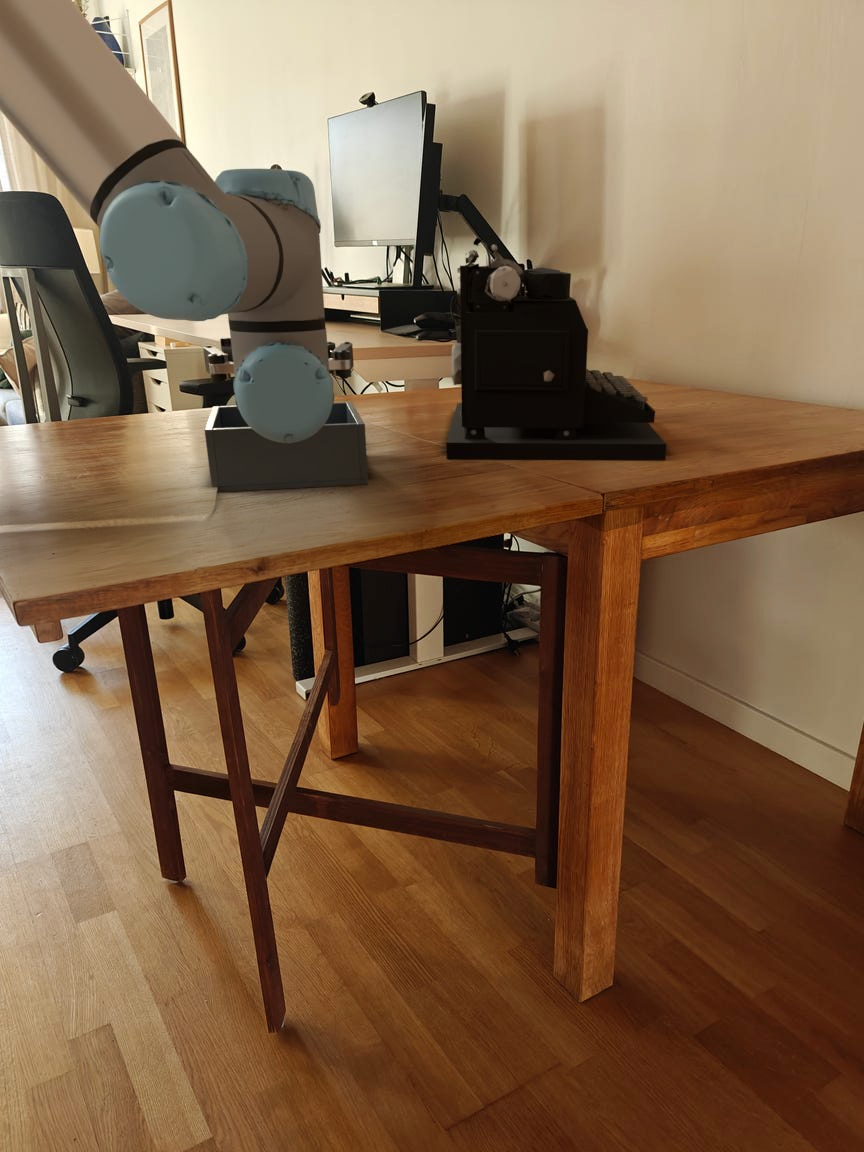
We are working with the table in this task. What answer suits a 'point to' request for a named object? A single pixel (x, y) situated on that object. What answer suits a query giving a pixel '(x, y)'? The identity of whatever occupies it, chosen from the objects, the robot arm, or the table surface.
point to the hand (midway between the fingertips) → (279, 349)
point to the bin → (286, 453)
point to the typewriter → (536, 375)
